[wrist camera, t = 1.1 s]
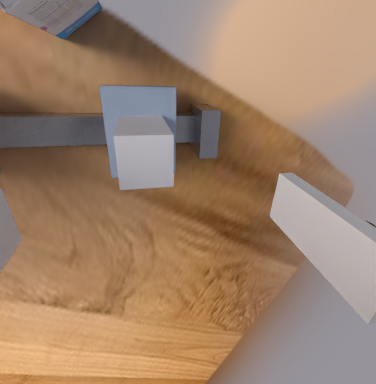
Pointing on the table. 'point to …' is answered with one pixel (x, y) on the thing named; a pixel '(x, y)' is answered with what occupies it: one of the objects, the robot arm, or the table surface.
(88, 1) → the ink box
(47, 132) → the rail
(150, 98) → the carriage
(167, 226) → the table surface
